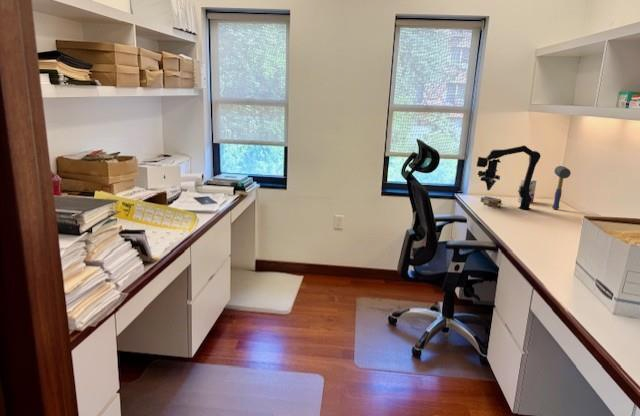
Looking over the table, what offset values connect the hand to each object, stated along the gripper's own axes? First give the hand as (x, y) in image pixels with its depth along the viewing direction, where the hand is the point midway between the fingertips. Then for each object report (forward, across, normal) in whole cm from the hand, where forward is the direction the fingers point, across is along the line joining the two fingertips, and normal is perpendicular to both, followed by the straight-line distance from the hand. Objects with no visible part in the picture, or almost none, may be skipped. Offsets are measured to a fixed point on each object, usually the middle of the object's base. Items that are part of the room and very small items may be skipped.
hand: (488, 190), depth 302 cm
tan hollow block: (+10, 0, +6) cm, 12 cm away
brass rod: (+11, 0, +4) cm, 11 cm away
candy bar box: (+10, -34, +15) cm, 38 cm away
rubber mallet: (+10, -29, +37) cm, 48 cm away
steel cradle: (+10, -9, -1) cm, 14 cm away
